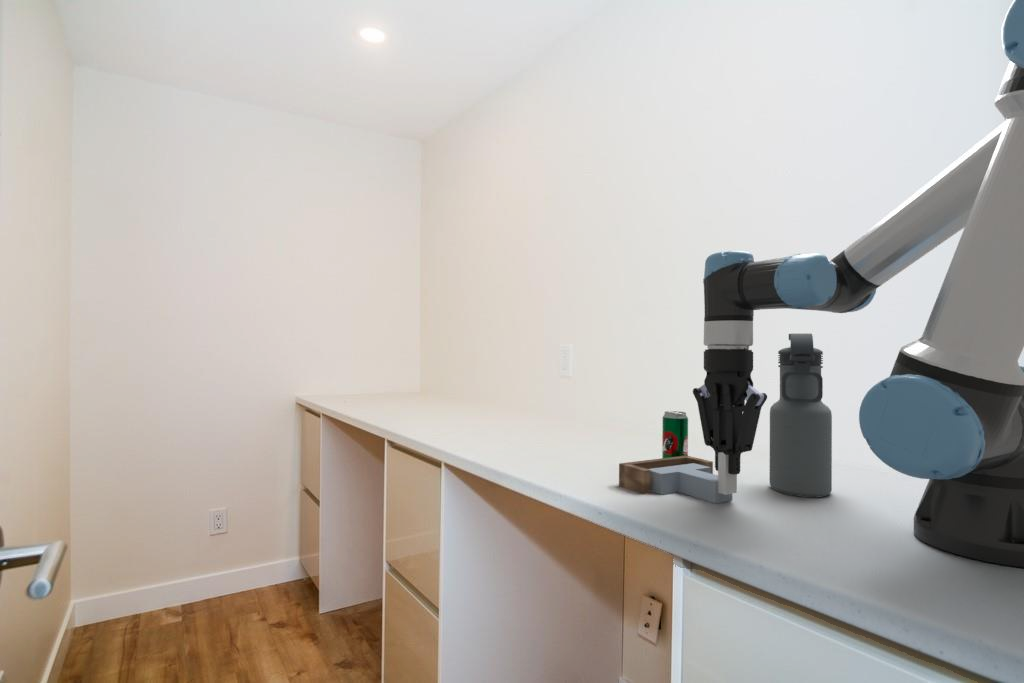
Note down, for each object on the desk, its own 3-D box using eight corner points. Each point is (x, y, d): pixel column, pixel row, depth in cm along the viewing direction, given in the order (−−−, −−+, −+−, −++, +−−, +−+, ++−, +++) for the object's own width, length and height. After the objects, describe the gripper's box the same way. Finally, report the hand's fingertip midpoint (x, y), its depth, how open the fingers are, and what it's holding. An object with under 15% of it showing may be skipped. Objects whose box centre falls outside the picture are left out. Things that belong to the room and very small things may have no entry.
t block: (697, 506, 85) (697, 484, 86) (645, 489, 96) (645, 469, 96) (748, 497, 91) (748, 476, 91) (693, 481, 102) (693, 463, 102)
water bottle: (835, 501, 89) (835, 332, 89) (769, 494, 93) (770, 332, 94) (828, 487, 98) (828, 334, 99) (769, 481, 102) (769, 334, 103)
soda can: (689, 473, 108) (689, 414, 108) (663, 472, 109) (663, 413, 109) (686, 468, 113) (686, 411, 113) (661, 467, 114) (661, 410, 114)
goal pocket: (712, 483, 101) (712, 461, 101) (643, 493, 93) (643, 470, 93) (686, 475, 107) (686, 455, 107) (619, 485, 98) (619, 463, 99)
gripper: (779, 348, 84) (778, 500, 84) (712, 348, 96) (711, 481, 95) (747, 347, 81) (746, 506, 80) (681, 347, 92) (680, 486, 92)
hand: (727, 492), depth 88 cm, fingers closed
